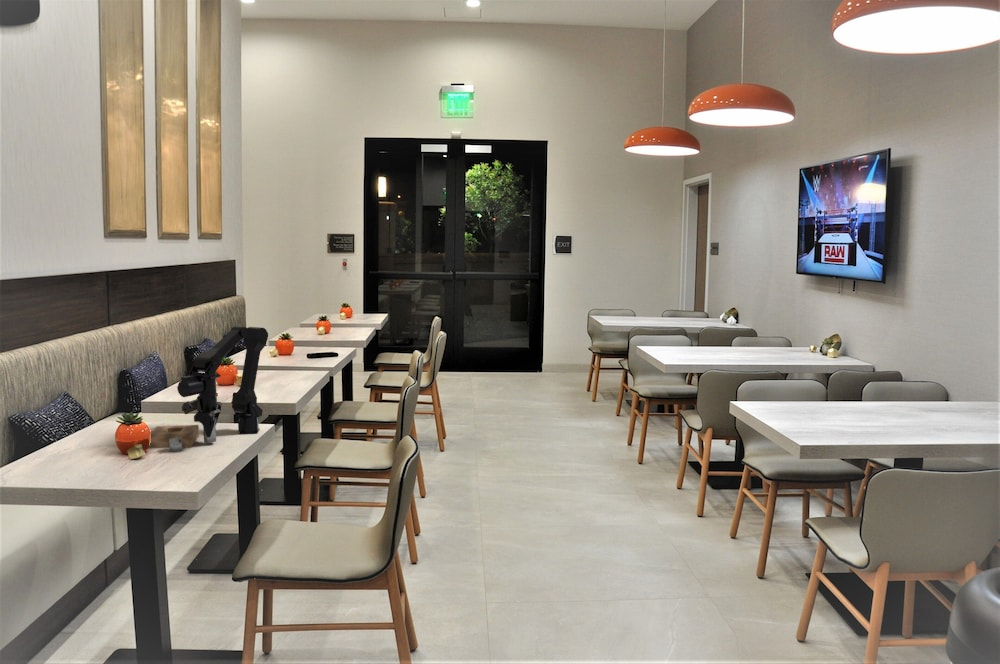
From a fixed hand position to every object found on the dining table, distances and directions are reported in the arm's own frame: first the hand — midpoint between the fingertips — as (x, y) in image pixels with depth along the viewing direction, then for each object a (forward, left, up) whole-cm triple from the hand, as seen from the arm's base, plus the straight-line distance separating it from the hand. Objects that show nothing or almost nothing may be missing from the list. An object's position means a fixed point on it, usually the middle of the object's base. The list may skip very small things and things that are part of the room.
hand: (209, 435), depth 267 cm
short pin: (+10, +6, -3) cm, 12 cm away
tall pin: (0, 0, -2) cm, 2 cm away
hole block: (+13, -5, -3) cm, 14 cm away
